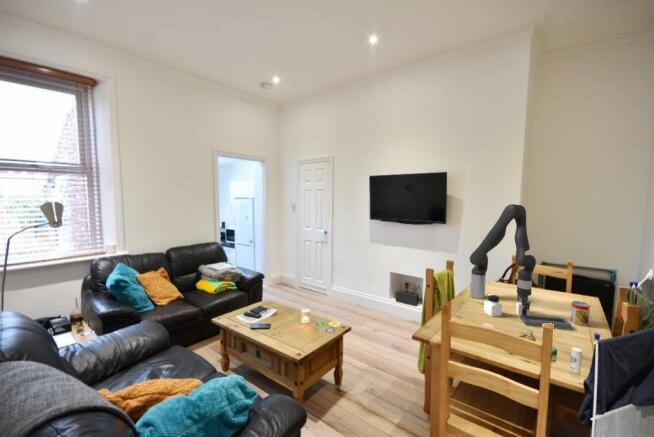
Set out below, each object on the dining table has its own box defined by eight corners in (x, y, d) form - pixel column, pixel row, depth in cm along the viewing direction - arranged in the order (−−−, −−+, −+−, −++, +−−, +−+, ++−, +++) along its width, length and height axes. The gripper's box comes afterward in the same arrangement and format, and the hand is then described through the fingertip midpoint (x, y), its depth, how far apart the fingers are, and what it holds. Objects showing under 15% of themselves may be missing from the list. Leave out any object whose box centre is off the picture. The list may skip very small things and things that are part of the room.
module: (518, 315, 180) (519, 302, 180) (515, 312, 184) (516, 300, 184) (529, 316, 179) (530, 303, 178) (526, 313, 183) (527, 301, 182)
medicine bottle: (501, 315, 179) (502, 297, 178) (491, 316, 178) (492, 297, 177) (493, 311, 186) (494, 293, 185) (483, 312, 185) (484, 293, 184)
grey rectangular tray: (526, 325, 166) (526, 320, 166) (519, 318, 176) (519, 313, 176) (571, 330, 161) (571, 325, 160) (562, 322, 170) (562, 317, 170)
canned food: (591, 327, 164) (593, 306, 163) (576, 325, 166) (577, 305, 165) (582, 320, 172) (583, 301, 171) (567, 319, 173) (568, 300, 172)
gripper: (513, 282, 188) (511, 308, 189) (521, 289, 174) (520, 317, 176) (526, 283, 186) (524, 309, 187) (536, 291, 172) (534, 318, 174)
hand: (522, 312), depth 182 cm, fingers open, 4 cm apart
